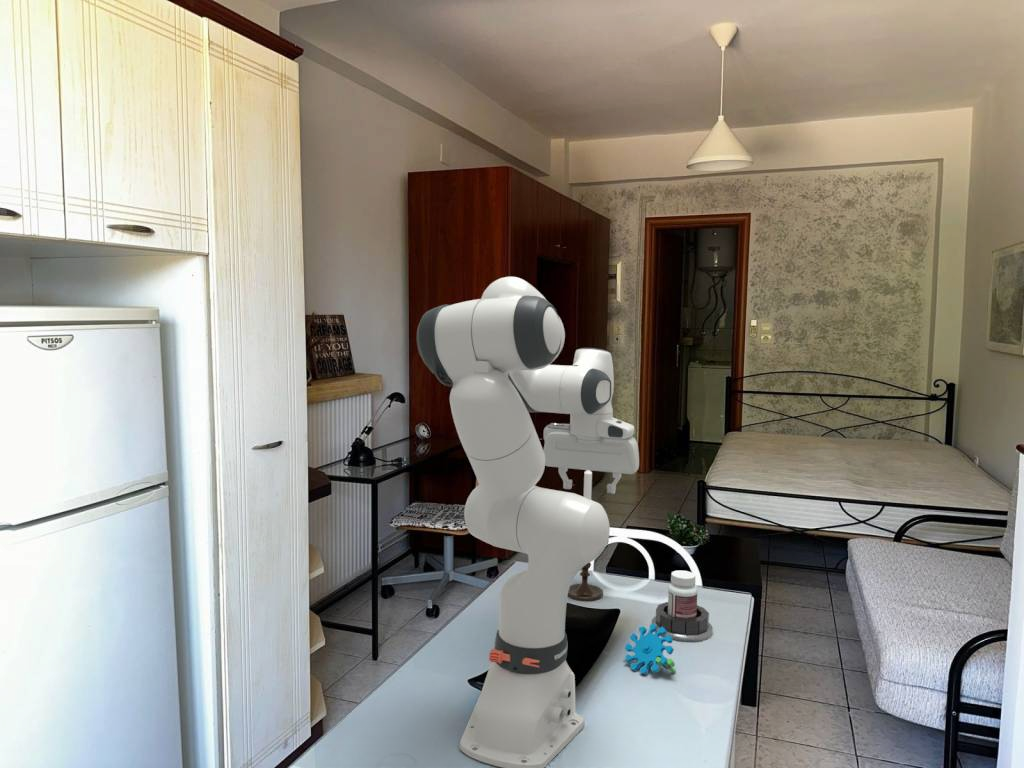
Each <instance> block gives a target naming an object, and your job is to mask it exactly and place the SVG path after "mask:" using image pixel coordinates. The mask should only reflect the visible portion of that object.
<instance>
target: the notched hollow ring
mask: <svg viewBox="0 0 1024 768" xmlns="http://www.w3.org/2000/svg"><path fill="white" fill-rule="evenodd" d="M709 621H710V612H708V610H707V609H705V608H704V607H702V606H699V605H698V604H697V615H696V618H695V619H682V618H676V617H673V616H670V615H668V601H665V602H663V603H659V604H658V605H657V607H656V608H655V616H654V617H653V618H652V619H651V624H654V625H656V627H657V630H656V631H655V632H654V634H655V633H656V632H658V630H659V629H660V628H661V627H663V628H664V629H665V630H666V631H667V633H666V634H665V635H660V636H659V637H661V638H663V637H665V636H667V635H671V637H672V641H676V642H682V643H699V642H704V641H706V639H707V640H708V638H709V639H710V638H711V637H712V635H713V631H714V629H713V625H712V624H711V622H709ZM703 640H704V641H703Z"/></svg>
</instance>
